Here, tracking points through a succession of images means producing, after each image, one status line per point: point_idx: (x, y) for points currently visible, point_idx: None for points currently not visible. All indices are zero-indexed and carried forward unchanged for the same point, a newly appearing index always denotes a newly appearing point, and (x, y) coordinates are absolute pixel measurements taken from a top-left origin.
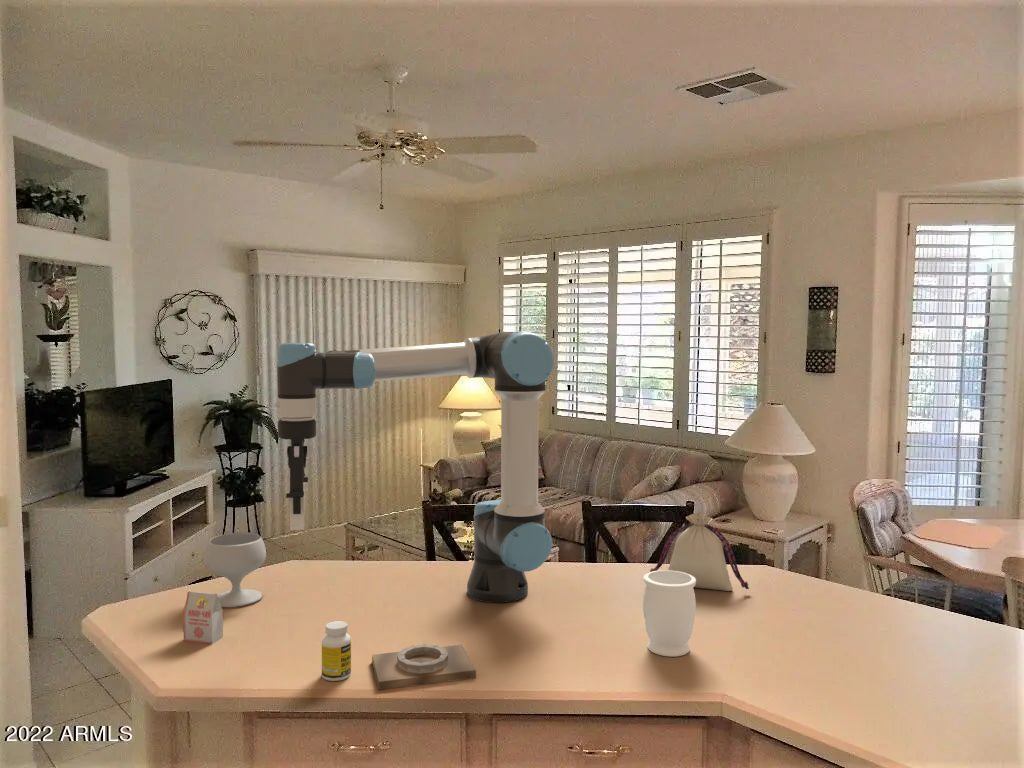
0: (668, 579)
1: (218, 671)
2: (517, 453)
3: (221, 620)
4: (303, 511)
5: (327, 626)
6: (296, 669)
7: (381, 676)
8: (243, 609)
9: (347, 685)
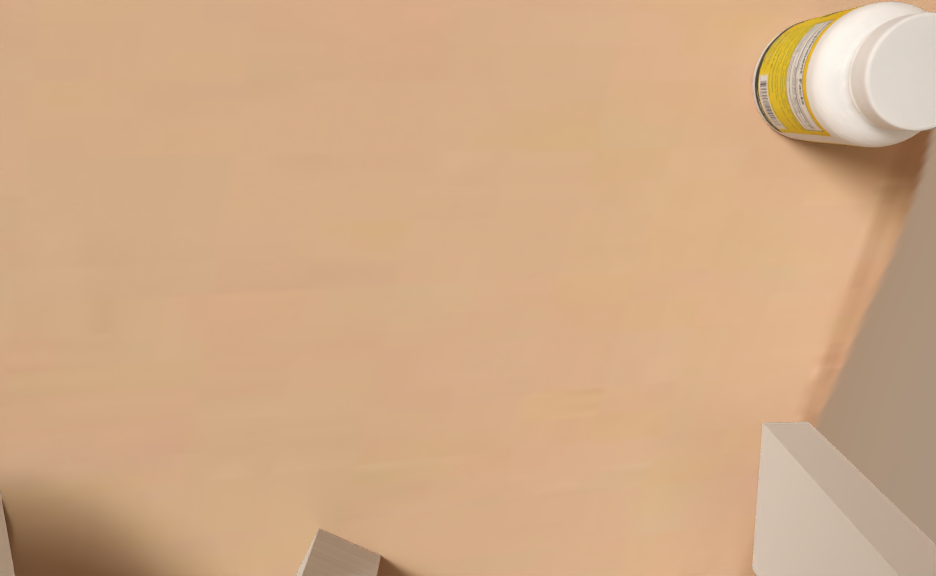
0: None
1: (636, 505)
2: None
3: (312, 573)
4: (933, 551)
5: (933, 121)
6: (700, 239)
7: None
8: (18, 487)
9: None
